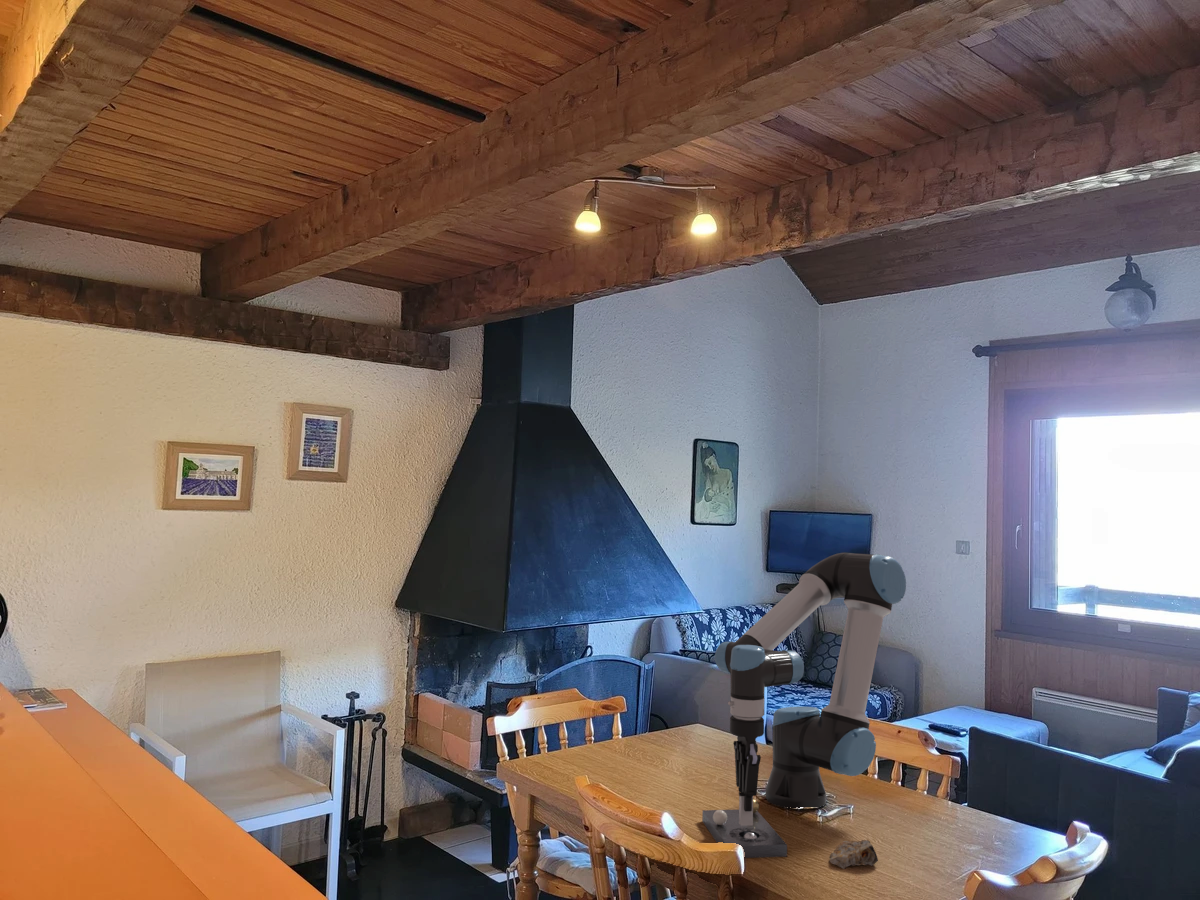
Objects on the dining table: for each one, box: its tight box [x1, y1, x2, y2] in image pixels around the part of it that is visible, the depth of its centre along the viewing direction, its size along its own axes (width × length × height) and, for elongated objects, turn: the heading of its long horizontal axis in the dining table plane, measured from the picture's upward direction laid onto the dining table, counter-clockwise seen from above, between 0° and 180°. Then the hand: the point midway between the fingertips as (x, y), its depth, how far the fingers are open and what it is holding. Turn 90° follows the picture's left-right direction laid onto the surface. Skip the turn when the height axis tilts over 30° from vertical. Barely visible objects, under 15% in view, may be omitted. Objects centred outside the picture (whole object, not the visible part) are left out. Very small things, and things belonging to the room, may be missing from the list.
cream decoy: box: [713, 809, 727, 825], centre depth 200 cm, size 3×3×3 cm
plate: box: [701, 809, 788, 859], centre depth 198 cm, size 22×13×2 cm, turn 7°
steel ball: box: [743, 832, 757, 839], centre depth 193 cm, size 3×3×3 cm
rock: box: [829, 839, 879, 870], centre depth 186 cm, size 9×6×10 cm
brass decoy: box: [753, 798, 760, 813], centre depth 208 cm, size 3×3×3 cm
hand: (745, 824), depth 196 cm, fingers closed
